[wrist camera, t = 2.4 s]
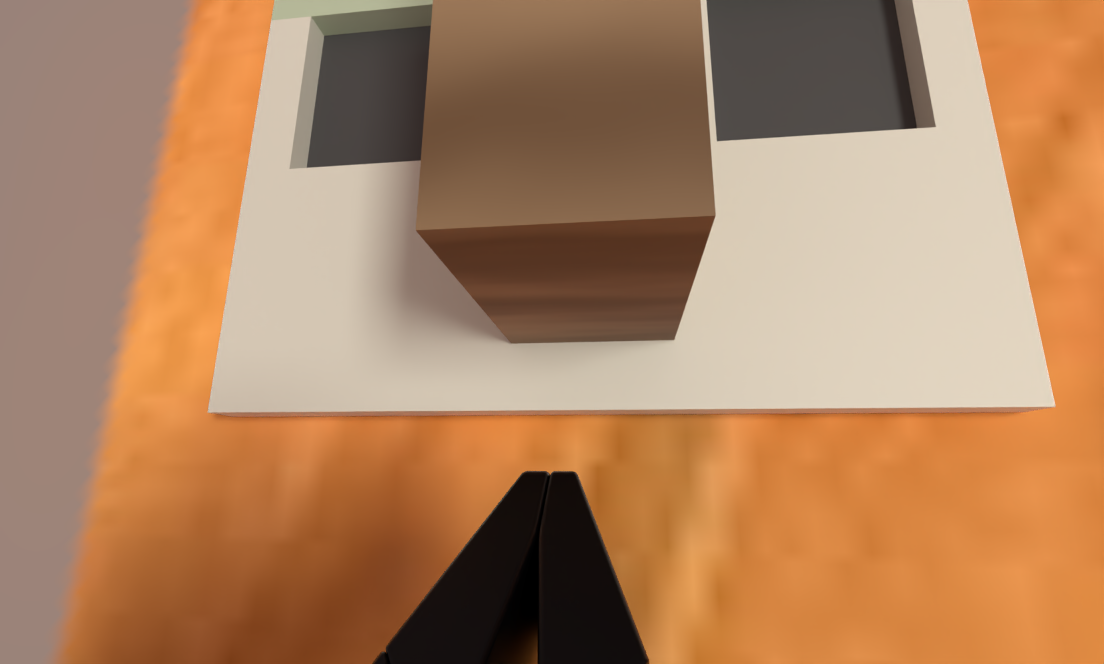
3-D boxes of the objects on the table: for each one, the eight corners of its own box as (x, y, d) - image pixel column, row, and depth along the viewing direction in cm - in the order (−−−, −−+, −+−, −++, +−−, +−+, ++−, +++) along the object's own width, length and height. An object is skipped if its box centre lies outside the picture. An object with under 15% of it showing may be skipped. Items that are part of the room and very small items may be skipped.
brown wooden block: (674, 340, 20) (715, 215, 11) (511, 343, 21) (415, 230, 12) (658, 0, 24) (678, -314, 15) (520, 13, 25) (453, -277, 15)
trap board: (1024, 412, 20) (1055, 406, 18) (233, 416, 24) (207, 412, 22) (895, -225, 28) (910, -264, 26) (317, -145, 31) (303, -175, 30)
